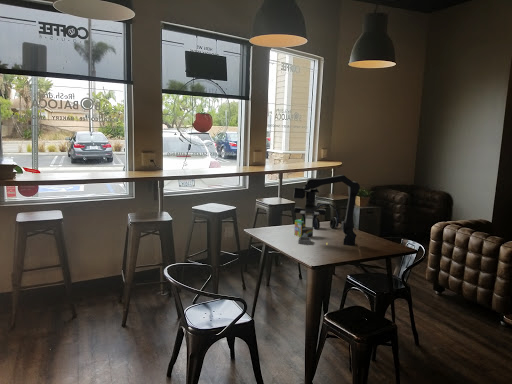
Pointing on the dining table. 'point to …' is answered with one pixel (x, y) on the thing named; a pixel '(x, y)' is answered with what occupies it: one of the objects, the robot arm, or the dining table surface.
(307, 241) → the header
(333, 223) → the headphones
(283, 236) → the dining table surface
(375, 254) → the dining table surface
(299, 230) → the chalk box
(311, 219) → the grey box
